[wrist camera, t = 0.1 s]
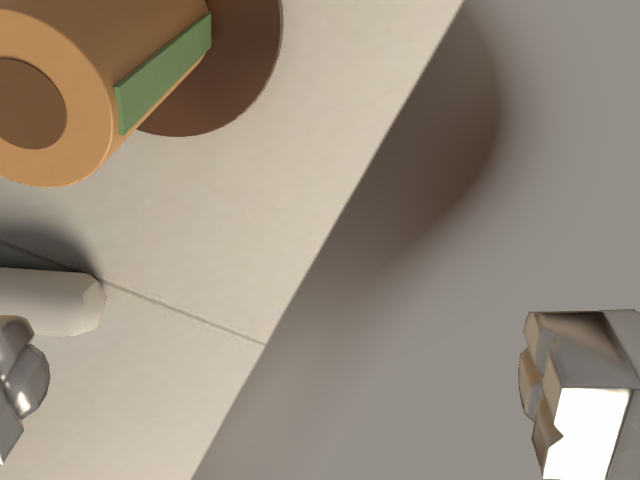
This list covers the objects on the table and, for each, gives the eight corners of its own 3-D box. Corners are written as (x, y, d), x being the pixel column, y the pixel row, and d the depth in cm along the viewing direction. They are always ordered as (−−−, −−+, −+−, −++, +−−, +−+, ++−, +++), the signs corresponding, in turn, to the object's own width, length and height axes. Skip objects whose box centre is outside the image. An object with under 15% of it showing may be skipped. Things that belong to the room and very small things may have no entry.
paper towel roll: (81, -39, 30) (-110, 14, 18) (203, -49, 29) (86, -1, 17) (114, 81, 33) (-29, 192, 21) (224, 75, 32) (138, 186, 21)
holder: (4, -117, 30) (-12, -117, 28) (266, -143, 28) (261, -144, 27) (84, 135, 37) (74, 144, 36) (295, 125, 35) (292, 134, 34)
